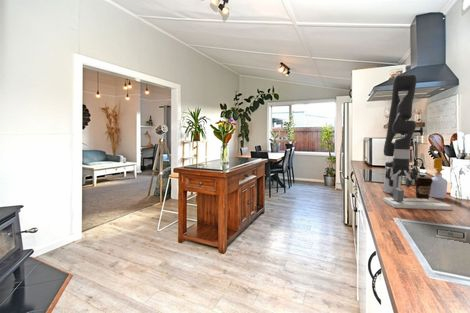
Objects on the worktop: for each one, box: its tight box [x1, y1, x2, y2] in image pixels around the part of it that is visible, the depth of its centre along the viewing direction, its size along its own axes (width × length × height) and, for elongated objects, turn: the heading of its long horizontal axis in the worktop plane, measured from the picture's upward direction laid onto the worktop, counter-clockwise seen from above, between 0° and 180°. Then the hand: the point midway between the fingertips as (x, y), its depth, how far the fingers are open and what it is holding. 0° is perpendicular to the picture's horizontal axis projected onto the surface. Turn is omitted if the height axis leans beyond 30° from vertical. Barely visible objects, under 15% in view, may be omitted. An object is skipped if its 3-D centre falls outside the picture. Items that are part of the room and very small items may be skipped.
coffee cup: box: [415, 176, 433, 199], centre depth 149 cm, size 9×8×13 cm
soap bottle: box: [429, 157, 448, 199], centre depth 153 cm, size 9×9×25 cm
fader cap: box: [392, 188, 405, 201], centre depth 137 cm, size 5×3×6 cm, turn 173°
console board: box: [382, 196, 452, 211], centre depth 137 cm, size 13×28×2 cm, turn 83°
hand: (399, 186), depth 137 cm, fingers open, 8 cm apart
